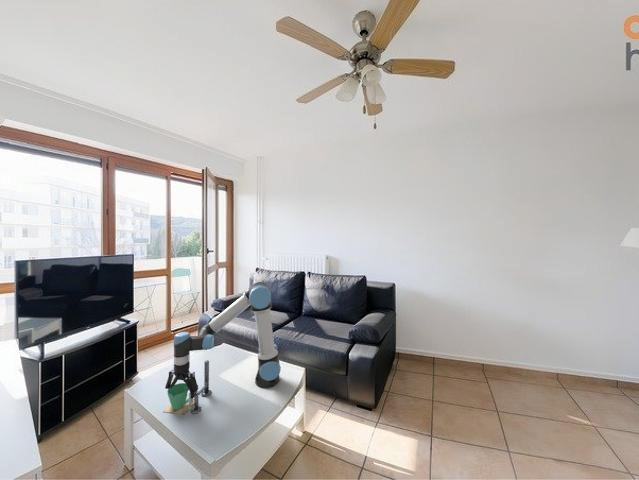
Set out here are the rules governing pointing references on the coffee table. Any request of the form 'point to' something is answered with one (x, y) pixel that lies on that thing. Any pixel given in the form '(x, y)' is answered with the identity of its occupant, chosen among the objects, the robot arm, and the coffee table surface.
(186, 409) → the coaster
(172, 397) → the mug
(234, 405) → the coffee table surface
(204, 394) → the metal wall bracket
